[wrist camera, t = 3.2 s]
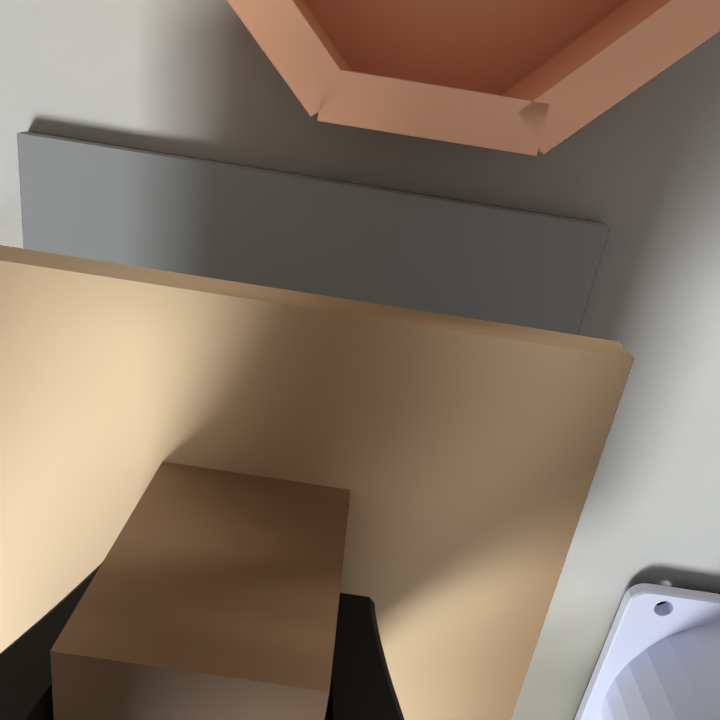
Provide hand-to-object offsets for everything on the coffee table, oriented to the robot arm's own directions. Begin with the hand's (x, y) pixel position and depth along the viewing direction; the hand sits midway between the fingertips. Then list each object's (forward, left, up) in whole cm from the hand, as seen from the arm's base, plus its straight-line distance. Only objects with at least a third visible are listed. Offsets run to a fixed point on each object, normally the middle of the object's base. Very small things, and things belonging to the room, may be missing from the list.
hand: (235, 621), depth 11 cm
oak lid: (0, 0, -2) cm, 2 cm away
